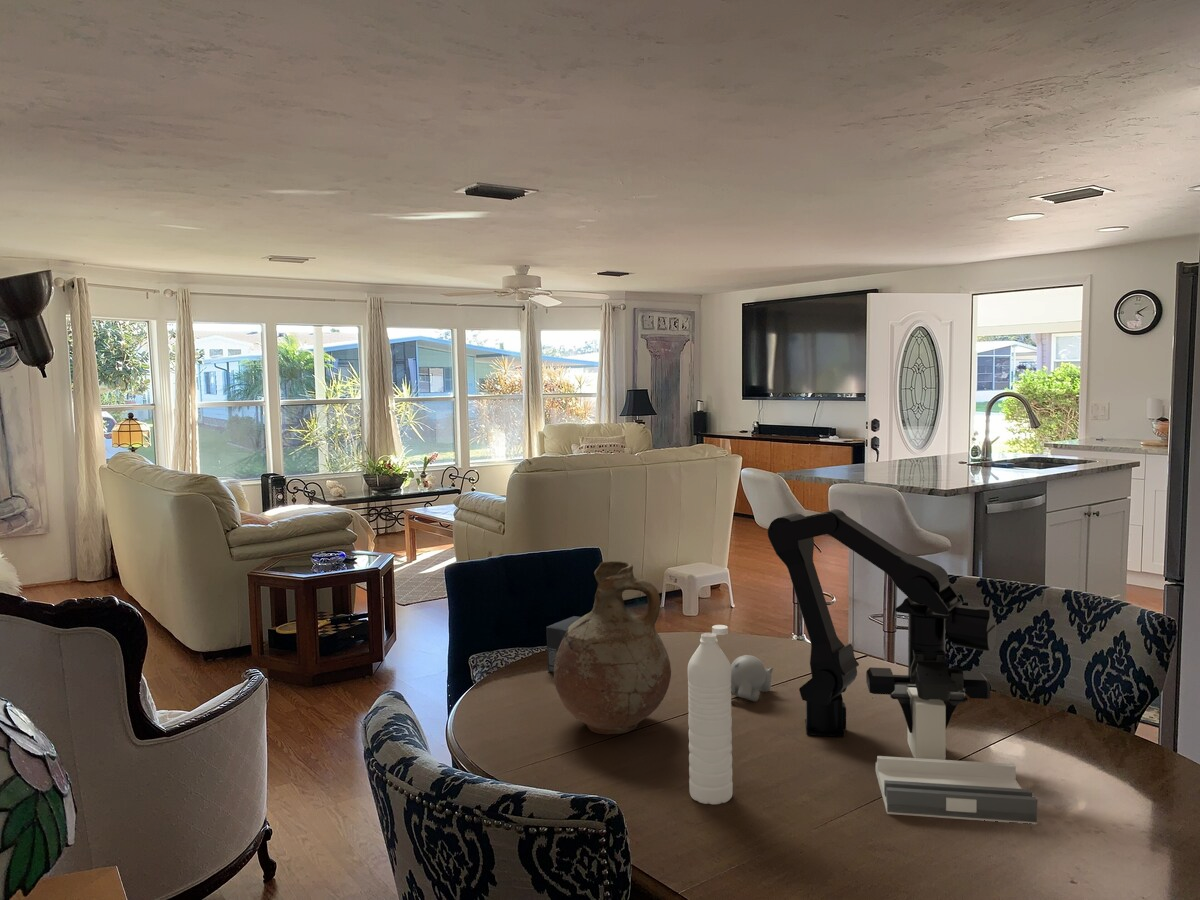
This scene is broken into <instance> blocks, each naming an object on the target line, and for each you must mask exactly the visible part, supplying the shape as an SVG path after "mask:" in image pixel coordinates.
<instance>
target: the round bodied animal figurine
mask: <svg viewBox="0 0 1200 900" xmlns="http://www.w3.org/2000/svg"><path fill="white" fill-rule="evenodd" d="M730 665H731V696H736V697H738V698H741V699H742V698H743V699H746V700H748V701H750V702H754V703H755V702H758V700H759V698H760V692H763V693H767V692H769V691H770V690H771V688H772V681H773V679H772V678H773V677H772V673H773V669H774V667H770V668H766V667H765V664H764V663H763V662H762V660H761V659H759V658H758V657H756V656H754V655H750V654H744V655H740V656H738V657H736V658H735V659H734V660H733V661H732V663H730Z"/></svg>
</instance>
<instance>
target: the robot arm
mask: <svg viewBox="0 0 1200 900" xmlns="http://www.w3.org/2000/svg"><path fill="white" fill-rule="evenodd" d="M824 535H828V536H831V537H832V538H833V539H835V540H836V541H838V542H840V543H841V544H843V545H844V546H845V547H847V548H849V549H850V550H851V551H853V552H854V553H856V554H857V555H859V556H860V557H862V558H863V559H865V560H867V561H868V562H869V563H870V564H872V565H874V566H876V567H877V568H878V569H880V570H882V571H883V572H884V573H885V574H886V575H887V576H888V577H889V578H890V579H891V581H892V582H893V584H894V585H895V587H896V588H898V589H899V590H900V591H901V592H902V593H903V594H904V595H905V596H906V598H904V600H903V601H902V602H901V604H900V605H898V606H897V607H895V609H894V611H895V612H896V613H901V614H907V616H908V617H907V619H908V622H907V623H908V624H907V626H908V631H907V633H908V634H907V636H908V637H907V639H908V640H907V641H908V643H907V644H908V647H907V648H908V649H907V650H908V651H907V653H908V654H907V659H908V660H907V662H908V663H907V664H908V665H907V672H908V673H907V675H906V674H905V675H904V674H893V671H892V669H891V668H890V667H868V669H867V670H866V674H865V678H866V679H865V682H866V685H867V688H868V691H869V693H870V694H872V695H888V696H890V698H891V699H892V700H897V701H898V703H899V705H900V707H901V710H902V713H903V717H904V720H905V722H906V725H907V726H906V727H907V730H908V729H909V732H910V733H912V716H911V708H910V696H909V694H908V687H913V688H917V693H918V697H919V698H921V699H923V700H929V699H939V700H942V701H943V702H944V704H945V705H946V729H947V728H948V725H949V723H950V720H951V718H952V715H953V713H954V711H955V710H956V708H957V706H959V705H960V704H961V703H967V702H968V700H969V699H982V700H983V699H986V700H988V699H991V685H990V682H989V680H988V679H987V678H986V676H985V675H984V674H983V673H982V672H981V671H975V670H973V671H972V670H963V669H962V668H958V667H948V664H947V661H946V660H947V659H946V658H947V656H946V638H947V640H948V643H952V645H953V646H954V647H959V648H965V649H966V648H967V649H973V650H978V651H984V652H993V650H994V648H995V645H996V642H997V641H996V640H997V633H998V631H997V629H998V627H997V624H996V619H995V616H994V615H993V608H992V607H991V606H972V605H963V600H962V599H961V597H959V595H958V594H957V592H956V591H955V590H954V588H953V587H952V585H951V584H950V578H949V575H948V572H947V571H946V570H945V568H944V567H942V566H941V565H939V564H937V563H934V562H933V561H930V560H928V559H925V558H923V557H919V556H917V555H914V554H913V555H912V554H910V553H907V552H905V551H902V550H900V549H899V548H897V547H896V546H895V545H894V544H891V543H890V542H888V541H886V540H885V539H884V538H882V537H880V536H879V535H878V534H875V533H874V532H872V531H871V530H869V529H868V528H867V527H865V526H863V525H862V524H860V523H859V522H857V521H855V520H854V519H853V518H851V517H849V516H848V515H847V514H846V513H845V512H844V511H843V510H841V509H838V508H837V509H831V510H828V511H825V512H821V513H817V514H812V515H806V516H805V515H804V514H801V513H798V512H797V513H796V512H795V513H791V514H786V515H784V516H783V515H782V516H779V517H777V518H775V519H773V520H772V521H771V522H770V524H769V526H768V527H767V538H768V540H769V543H770V545H771V547H772V548H773V551H774V552H775V554H776V556H777V557H778V559H780V560H781V562H782V563H783V564H784V565H785V566H786V568H787V571H788V574H789V577H790V581H791V583H792V587H793V590H794V593H795V597H796V599H797V602H798V603H797V604H798V605H799V610H800V612H801V615H802V619H803V622H804V626H805V628H806V631H807V635H808V638H809V641H810V655H809V659H810V660H809V665H810V667H809V668H810V672H811V678H810V679H809V680H808V681H806V682H805V683H803V685H802V686H800V687H799V688H798V690H799V694H800V697H801V700H802V701H805V719H804V724H805V732H806V733H805V734H806V735H807V736H822V737H823V736H824V737H825V736H826V737H839V738H841V737H842V738H843V737H845V731H846V730H847V705H846V703H845V701H844V699H843V695H842V694H843V693H845V692H846V691H847V688H848V686H850V685H851V684H852V683H853V682H854V681H855V679H857V676H858V669H857V667H858V666H859V665H860V663H859V662H858V661H857V659H856V657H855V652H854V647H853V645H852V643H848V644H845V645H844V643H843V642H842V641H841V640H840V639H839V637H838V636H837V633H836V629H835V627H834V623H833V621H832V617H831V614H830V611H829V608H828V604H827V601H826V598H825V595H824V592H823V588H822V585H821V582H820V579H819V576H818V572H817V570H816V566H815V562H814V551H815V540H814V539H815V537H820V536H824ZM967 696H968V697H969V699H968V698H967Z"/></svg>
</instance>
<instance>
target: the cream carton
mask: <svg viewBox="0 0 1200 900" xmlns="http://www.w3.org/2000/svg"><path fill="white" fill-rule="evenodd" d="M907 692H908V694H909V696H910V708H911V716H912V733H910V732H909V729H908V728H907V744H908V746H909V749H910V751H911V752H910V753H911V754H912V758H922V759H939V760H947V759H946V757H947V756H946V747H947V746H946V737H947V735H946V731H947V728H946V705H945V704H944V702H943V701H942V700H939V699H929V700H923V699H921V698H919V697H918V693H917V688H913V687H908V690H907Z"/></svg>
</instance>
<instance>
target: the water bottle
mask: <svg viewBox="0 0 1200 900" xmlns="http://www.w3.org/2000/svg"><path fill="white" fill-rule="evenodd" d="M724 635H729V627H728V626H727V625H724V624H715V625H712V626H711V632H704V633H703V632H702V633H701V636H700V639H699V641H700V644H699V646H698V647H697V648H696V650H695V652H694V653H693V654H692V656H691V657H690V659H689V661H688V664H687V680H688V681H687V686H688V687H687V691H688V693H687V696H688V699H687V700H688V702H687V706H688V710H687V711H688V714H687V715H688V717H687V718H688V719H687V720H688V721H687V722H688V728H689V729H688V740H689V742H688V751H689V754H688V763H689V766H688V775H689V779H688V783H689V784H688V785H689V795H690V797H691V799H693V800H694V801H697V802H698V803H700V804H704V805H708V804H709V805H720V804H725V803H727V802H728V801H730V800H731V799H732V797H733V785H734V784H733V766H732V765H733V755H732V752H733V744H732V740H733V733H732V732H733V731H732V727H733V721H732V720H733V719H732V695H731V663H730V660H729V659H728V657H727V656H726V654H725V653H724V651H723V650H722V649H721V647H720V646H719V644H718V641H719V640H718V638H717V637H718V636H724Z"/></svg>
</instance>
